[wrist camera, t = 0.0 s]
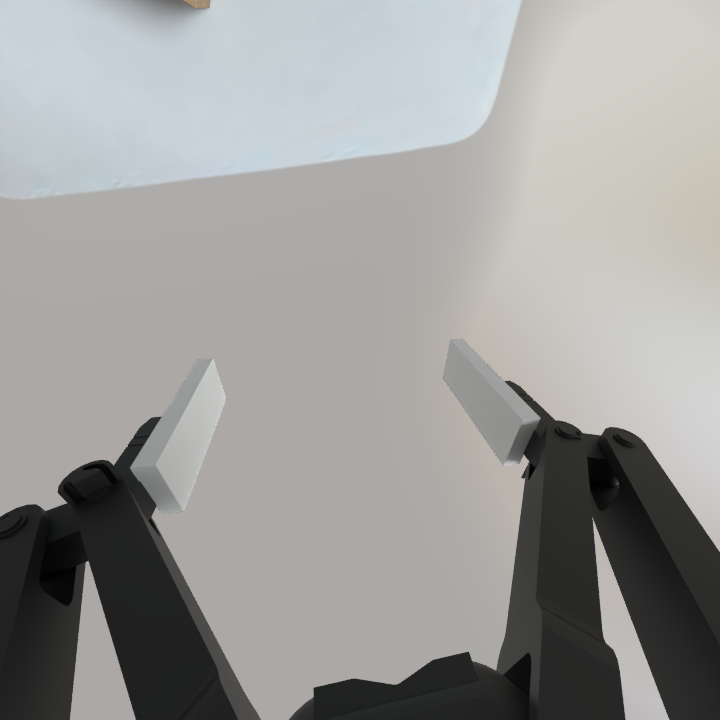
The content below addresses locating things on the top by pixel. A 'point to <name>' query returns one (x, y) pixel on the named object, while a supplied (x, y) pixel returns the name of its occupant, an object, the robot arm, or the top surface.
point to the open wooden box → (199, 3)
